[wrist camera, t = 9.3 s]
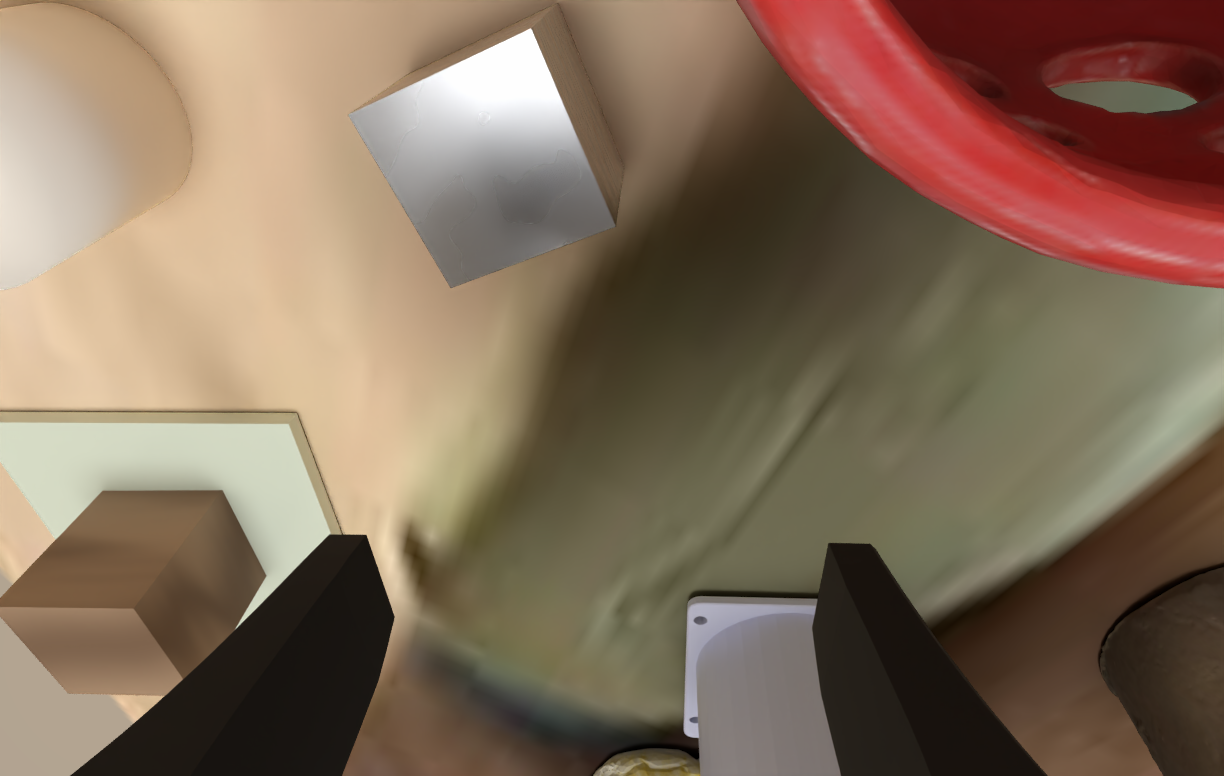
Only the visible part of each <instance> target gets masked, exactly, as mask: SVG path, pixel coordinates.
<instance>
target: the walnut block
mask: <svg viewBox="0 0 1224 776" xmlns="http://www.w3.org/2000/svg"><path fill="white" fill-rule="evenodd" d="M265 578H266V574H265V572H264V570H263V568H262V566H261V564H260V562H259V560H258V558H257V556H256V554H255V552H254V550H253V548H252V547H251V545H250V543H249V541H248V539H247V537H246V535H245V533H244V531H243V529H242V527H241V525H240V523H239V521H238V519H237V517H236V515H235V514H234V512H233V510H232V508H231V506H230V504H229V502H228V500H227V498H226V496H225V494H224V492H223V490H144V491H102V492H101V493H100V494H99V495H98V496H97V497H96V498H95V499H94V500H93V501H92V502H91V503H90V504H89V506H88V507H87V508H86V509H85V510H84V511H83V512H82V513H81V514H80V515H79V516H78V517H77V518H76V519H75V520H74V521H73V522H72V523H71V524H70V525H69V526H68V528H67V529H66V530H65V531H64V532H63V533H62V534H61V535H60V536H59V537H58V538H57V539H56V540H55V541H54V542H53V543H52V544H51V545H50V546H49V547H48V548H47V550H46V551H45V552H44V553H43V554H42V555H41V556H40V557H39V558H38V559H37V560H36V561H35V562H34V563H33V564H32V565H31V566H30V567H29V568H28V569H27V571H26V572H25V573H24V574H23V575H22V576H21V577H20V578H19V579H18V580H17V581H16V582H15V583H14V584H13V585H12V586H11V587H10V588H9V589H8V590H7V592H6V593H5V594H4V595H3V596H2V597H1V598H0V617H1V618H2V619H3V620H4V621H5V623H6V624H7V625H8V626H9V627H10V628H11V629H12V630H13V632H14V633H15V634H16V635H17V636H18V637H19V638H20V640H21V641H22V642H23V643H24V644H25V645H26V646H27V647H28V648H29V650H30V651H31V652H32V653H33V654H34V655H35V656H36V658H37V659H38V660H39V661H40V662H41V663H42V664H43V666H44V667H45V668H46V669H47V670H48V671H49V672H50V673H51V675H52V676H53V677H54V678H55V679H56V680H57V681H58V682H59V684H60V685H61V686H62V687H63V688H64V689H65V690H66V691H67V693H69V694H111V695H153V696H165V695H166V694H168V693H169V692H170V691H171V690H172V689H173V688H174V687H175V686H176V685H177V684H178V683H179V682H181V681H182V680H183V679H184V678H185V677H186V676H187V675H188V674H189V673H190V672H191V671H193V670H194V669H195V668H196V667H197V666H198V665H199V664H200V663H201V662H202V661H203V660H204V659H205V658H207V657H208V656H209V655H210V654H211V653H212V652H213V651H214V650H215V649H216V648H217V647H218V646H219V645H220V644H221V643H222V642H223V641H224V640H225V639H226V638H227V637H228V636H229V635H230V634H231V633H232V632H233V631H234V630H235V629H236V627H237V625H238V624H239V622H240V620H241V619H242V617H243V615H244V613H245V612H246V610H247V608H248V607H249V605H250V603H251V602H252V600H253V598H254V596H255V595H256V593H257V591H258V590H259V588H260V586H261V585H262V583H263V581H264V580H265Z"/></svg>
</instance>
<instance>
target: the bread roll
mask: <svg viewBox="0 0 1224 776" xmlns="http://www.w3.org/2000/svg"><path fill="white" fill-rule="evenodd" d="M593 776H700V759H697V760H696V759H694V758H693V757H692V756H690V755H689V754H688V753H686V752H683V751H681V750H677V749H662V748H647V749H640V750H635V751H628V752H623V753H620V754H617V755H615V756H613V757H612V758H610V759H609V760H608V761H607V762H606V763H605V764H604V765H603V766H602V767H600V768H599V769H597V771H596V772H595V774H594V775H593Z"/></svg>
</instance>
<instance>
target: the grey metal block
mask: <svg viewBox="0 0 1224 776" xmlns="http://www.w3.org/2000/svg"><path fill="white" fill-rule="evenodd" d="M348 116H349V117H350V119H351V121H352V122H353V124H354V126H355V127H356V129H357V131H358V132H359V134H360V136H361V137H362V139H363V141H364V143H365V144H366V146H367V148H368V149H369V151H370V153H371V154H372V156H373V158H374V159H375V161H376V163H377V164H378V166H379V168H380V169H381V171H382V173H383V175H384V176H385V178H386V180H387V181H388V183H389V185H390V186H391V188H392V190H393V191H394V193H395V195H396V196H397V198H398V200H399V201H400V203H401V205H402V207H403V208H404V210H405V212H406V213H407V215H408V217H409V218H410V220H411V222H412V223H413V225H414V227H415V228H416V230H417V232H418V234H419V235H420V237H421V239H422V240H423V242H424V244H425V245H426V247H427V249H428V250H429V252H430V254H431V255H432V257H433V259H434V260H435V262H436V264H437V266H438V267H439V269H440V271H441V272H442V274H443V276H444V277H445V279H446V281H447V282H448V284H449V286H450V287H451V288H452V287H455V286H458V285H461V284H463V283H466V282H469V281H471V280H474V279H477V278H479V277H482V276H485V275H487V274H490V273H493V272H495V271H498V270H501V269H503V268H506V267H509V266H512V265H514V264H517V263H520V262H522V261H525V260H528V259H530V258H533V257H536V256H538V255H541V254H544V253H546V252H549V251H552V250H554V249H557V248H560V247H562V246H565V245H568V244H571V243H573V242H576V241H579V240H581V239H584V238H587V237H589V236H592V235H595V234H597V233H600V232H603V231H605V230H608V229H611V228H613V227H616V222H617V215H618V208H619V201H620V194H621V188H622V181H623V174H624V166H623V163H622V161H621V158H620V156H619V153H618V151H617V148H616V146H615V143H614V141H613V138H612V136H611V133H610V131H609V128H608V126H607V123H606V121H605V118H604V116H603V113H602V111H601V108H600V106H599V103H598V101H597V98H596V96H595V93H594V91H593V88H592V86H591V83H590V81H589V78H588V76H587V74H586V71H585V69H584V66H583V64H582V61H581V59H580V56H579V54H578V51H577V49H576V46H575V44H574V41H573V39H572V36H571V34H570V31H569V29H568V26H567V24H566V21H565V19H564V16H563V14H562V11H561V9H560V6H559V4H558V3H557V4H554V5H552V6H550V7H548V8H546V9H544V10H542V11H540V12H538V13H536V14H533V15H531V16H529V17H527V18H525V19H523V20H521V21H519V22H517V23H515V24H512V25H510V26H508V27H506V28H504V29H502V30H500V31H498V32H496V33H494V34H491V35H489V36H487V37H485V38H483V39H481V40H479V41H477V42H475V43H473V44H470V45H468V46H466V47H464V48H462V49H460V50H458V51H456V52H454V53H452V54H449V55H447V56H445V57H443V58H441V59H439V60H437V61H435V62H433V63H431V64H428V65H426V66H424V67H422V68H420V69H418V70H416V71H414V72H412V73H410V74H408V75H406V76H405V77H403V78H402V79H400V80H399V81H397V82H396V83H394V84H393V85H391V86H390V87H389V88H387V89H386V90H384V91H383V92H381V93H380V94H378V95H377V96H375V97H374V98H372V99H371V100H369V101H368V102H366V103H365V104H363V105H362V106H360V107H359V108H357V109H356V110H354V111H353V112H351V113H350V114H349V115H348Z"/></svg>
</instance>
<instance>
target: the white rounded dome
mask: <svg viewBox="0 0 1224 776" xmlns="http://www.w3.org/2000/svg"><path fill="white" fill-rule="evenodd" d="M191 161H192V136H191V131H190V126H189V122H188V119H187V115H186V112H185V110H184V107H183V105H182V103H181V100H180V98H179V96H178V94H177V92H176V91H175V89H174V87H173V85H172V83H171V82H170V80H169V79H168V78H167V76H166V75H165V73H164V72H163V70H162V69H161V68H160V67H159V65H158V64H157V63H156V62H155V61H154V59H153V58H152V57H151V56H150V55H149V54H148V53H147V52H146V51H145V50H144V49H143V48H142V47H141V46H140V45H139V44H138V43H137V42H136V41H134V40H133V39H132V38H131V37H130V36H129V35H127V34H126V33H125V32H123V31H122V30H120V29H119V28H117V27H116V26H115V25H113V24H112V23H110V22H108V21H106V20H104V19H103V18H101V17H99V16H97V15H95V14H92V13H90V12H88V11H86V10H83V9H80V8H77V7H73V6H70V5H65V4H59V3H46V2H41V3H33V4H26V5H20V6H14V7H8V8H1V9H0V290H6V289H10V288H15V287H18V286H21V285H23V284H25V283H28V282H30V281H31V280H33V279H35V278H36V277H38V276H40V275H41V274H43V273H45V272H46V271H48V270H50V269H51V268H53V267H55V266H56V265H58V264H60V263H61V262H63V261H65V260H66V259H68V258H70V257H71V256H73V255H75V254H76V253H78V252H80V251H81V250H83V249H85V248H86V247H88V246H90V245H91V244H93V243H95V242H96V241H98V240H100V239H101V238H103V237H105V236H106V235H108V234H110V233H112V232H113V231H115V230H117V229H118V228H120V227H122V226H123V225H125V224H127V223H128V222H130V221H132V220H133V219H135V218H137V217H138V216H140V215H142V214H143V213H145V212H147V211H148V210H150V209H152V208H153V207H155V206H157V205H158V204H160V203H162V202H163V201H165V200H166V199H168V198H169V197H171V196H172V195H173V194H174V193H175V192H176V191H177V190H179V188H180V187H181V185H182V184H183V183H184V181H185V179H186V177H187V175H188V172H189V169H190V165H191Z"/></svg>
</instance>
